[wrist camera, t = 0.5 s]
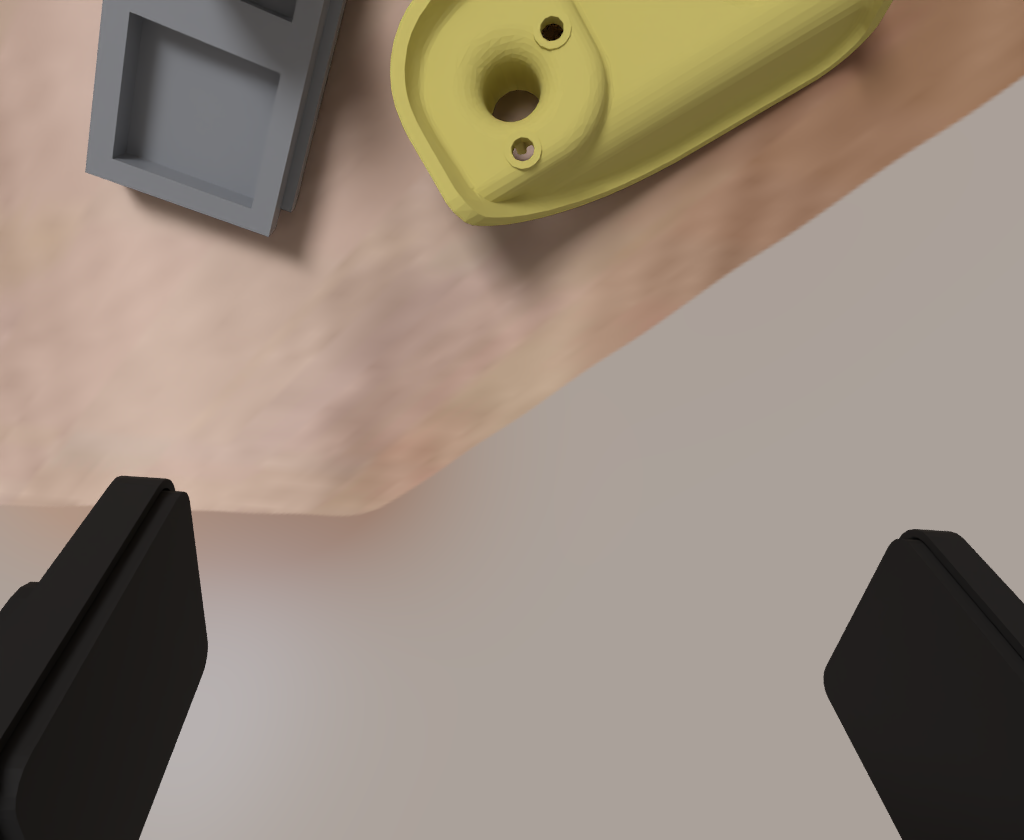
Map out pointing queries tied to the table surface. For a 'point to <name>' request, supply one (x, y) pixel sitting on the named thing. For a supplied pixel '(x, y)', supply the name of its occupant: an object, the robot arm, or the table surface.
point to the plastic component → (597, 88)
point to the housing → (211, 101)
